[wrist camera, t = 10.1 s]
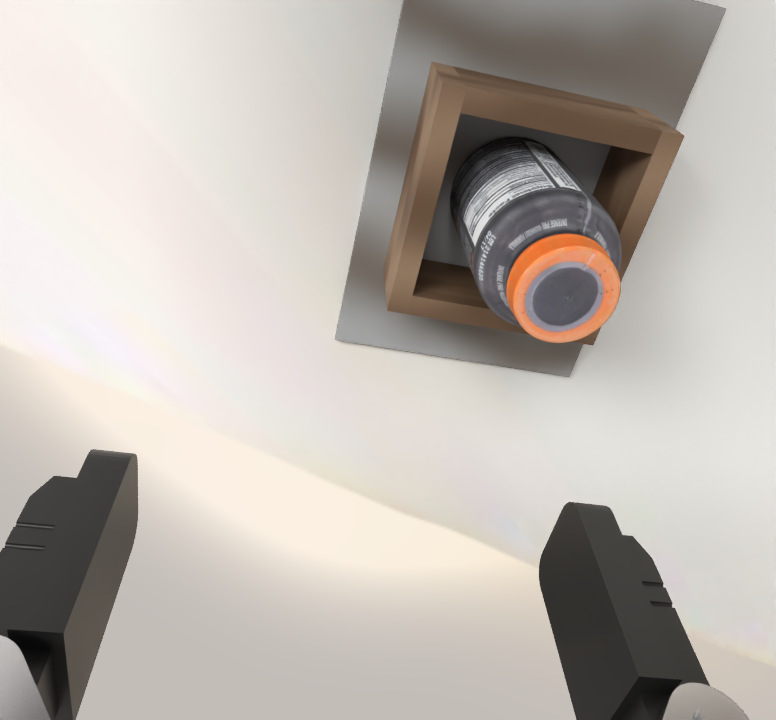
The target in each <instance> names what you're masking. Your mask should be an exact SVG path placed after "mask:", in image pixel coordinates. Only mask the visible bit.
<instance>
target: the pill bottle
mask: <svg viewBox="0 0 776 720" xmlns="http://www.w3.org/2000/svg"><path fill="white" fill-rule="evenodd" d="M450 206H451V214H452V218H453V221H454V224H455V228H456V231H457V234H458V236H459V239H460V241H461V245H462V248H463V250H464V253H465V255H466V258H467V261H468V263H469V266H470V269H471V271H472V274H473V277H474V280H475V282H476V285H477V287H478V290H479V292H480V295H481V297H482V298H483V300H484V302H485V303H486V304H487V306H488V307H489V308H490V309H491V310H492V311H493V312H494V313H495V314H496V315H497V316H499V317H500V318H502V319H503V320H505V321H507V322H509V323H511V324H513V325H516V326H519V327H522V328H523V329H524V330H525V331H526V332H527V333H529V334H530V335H532V336H533V337H535V338H537V339H539V340H542V341H546V342H552V343H566V342H571V341H575V340H578V339H581V338H584V337H586V336H588V335H589V334H591V333H593V332H594V331H596V330H597V329H599V328H600V327H601V326H602V325H603V324H604V323H605V322H606V321H607V320H608V318H609V317H610V316H611V315H612V313H613V311H614V310H615V308H616V305H617V303H618V300H619V296H620V291H621V290H620V278H619V274H618V272H619V269H620V265H621V257H622V247H621V240H620V236H619V232H618V230H617V227H616V225H615V223H614V221H613V220H612V218H611V217H610V215H609V214H608V212H607V211H606V210H605V209H604V208H603V207H602V206H601V204H600V203H599V202H598V201H597V200H596V198H595V197H594V196H593V195H592V194H591V193H590V192H589V191H588V190H587V189H586V188H585V186H584V185H583V184H582V183H581V182H580V181H579V179H577V178H576V176H575V175H574V174H573V173H572V172H571V171H570V170H569V169H568V167H567V166H566V165H565V164H564V163H563V162H562V161H561V160H560V158H559V157H558V156H557V155H556V154H555V153H554V152H553V151H552V150H551V149H550V148H548V147H547V146H545V145H544V144H542V143H540V142H538V141H536V140H533V139H530V138H526V137H506V138H501V139H497V140H494V141H492V142H489V143H487V144H486V145H484V146H482V147H480V148H479V149H478V150H476V151H474V152H473V153H472V154H471V155H470V156H469V157H468V158H467V159H466V160H465V162H464V163H463V164H462V166H461V167H460V169H459V170H458V172H457V174H456V176H455V179H454V181H453V185H452V189H451V194H450Z"/></svg>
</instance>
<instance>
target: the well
mask: <svg viewBox="0 0 776 720" xmlns="http://www.w3.org/2000/svg"><path fill="white" fill-rule="evenodd" d="M725 11H726V8H722V7H718V6H714V5H710V4H706V3H702V2H699V1H695V0H403V5H402V10H401V15H400V20H399V25H398V30H397V35H396V40H395V45H394V50H393V55H392V60H391V64H390V69H389V74H388V79H387V84H386V89H385V94H384V99H383V104H382V109H381V114H380V119H379V124H378V129H377V134H376V139H375V144H374V148H373V153H372V158H371V163H370V168H369V173H368V178H367V183H366V188H365V193H364V198H363V203H362V208H361V213H360V218H359V223H358V228H357V232H356V237H355V242H354V247H353V252H352V257H351V262H350V267H349V272H348V277H347V282H346V287H345V292H344V297H343V302H342V307H341V311H340V316H339V321H338V326H337V331H336V336H335V340H339V341H345V342H352V343H358V344H364V345H371V346H377V347H383V348H390V349H396V350H402V351H408V352H415V353H421V354H427V355H434V356H440V357H446V358H453V359H459V360H465V361H472V362H478V363H484V364H490V365H497V366H503V367H509V368H516V369H522V370H528V371H535V372H541V373H547V374H554V375H560V376H566V377H569V376H570V374H571V371H572V369H573V367H574V364H575V362H576V360H577V357H578V355H579V353H580V350H581V348H582V346H583V344H588V345H593V344H594V342H595V340H596V337H597V335H598V333H599V331H600V328H601V327H600V328H599V329H597V330H596V331H594V332H593V333H591V334H589V335H588V336H586V337H584V338H581V339H578V340H575V341H571V342H566V343H552V342H546V341H542V340H539V339H537V338H535V337H533V336H532V335H530V334H529V333H527V332H526V331H525V330H524V329H523V328H522V327H519V326H516V325H513V324H511V323H509V322H507V321H505V320H503V319H502V318H500V317H499V316H497V315H496V314H495V313H494V312H493V311H492V310H491V309H490V308H489V307H488V306H487V304H486V303H485V302H484V300H483V298H482V297H481V295H480V292H479V290H478V287H477V285H476V282H475V280H474V277H473V274H472V271H471V269H470V266H469V263H468V261H467V258H466V255H465V253H464V250H463V248H462V245H461V241H460V239H459V236H458V234H457V231H456V228H455V224H454V221H453V218H452V214H451V206H450V194H451V189H452V185H453V181H454V179H455V176H456V174H457V172H458V170H459V169H460V167H461V166H462V164H463V163H464V162H465V160H466V159H467V158H468V157H469V156H470V155H471V154H472V153H473V152H474V151H476V150H478V149H479V148H480V147H482V146H484V145H486V144H487V143H489V142H492V141H494V140H497V139H501V138H506V137H526V138H530V139H533V140H536V141H538V142H540V143H542V144H544V145H545V146H547V147H548V148H550V149H551V150H552V151H553V152H554V153H555V154H556V155H557V156H558V157H559V158H560V160H561V161H562V162H563V163H564V164H565V165H566V166H567V167H568V169H569V170H570V171H571V172H572V173H573V174H574V175H575V176H576V178H577V179H579V181H580V182H581V183H582V184H583V185H584V186H585V188H586V189H587V190H588V191H589V192H590V193H591V194H592V195H593V196H594V197H595V198H596V200H597V201H598V202H599V203H600V204H601V206H602V207H603V208H604V209H605V210H606V211H607V212H608V214H609V215H610V217H611V218H612V220H613V221H614V223H615V225H616V227H617V230H618V232H619V236H620V240H621V247H622V257H621V265H620V269H619V272H618V274H619V278H620V282H621V280H622V278H623V276H624V273H625V271H626V269H627V266H628V264H629V262H630V260H631V257H632V255H633V253H634V250H635V248H636V246H637V243H638V241H639V239H640V237H641V234H642V232H643V230H644V227H645V225H646V223H647V221H648V218H649V216H650V214H651V211H652V209H653V207H654V205H655V202H656V200H657V198H658V195H659V193H660V191H661V188H662V186H663V184H664V182H665V179H666V177H667V175H668V172H669V170H670V168H671V166H672V163H673V161H674V159H675V156H676V154H677V152H678V150H679V147H680V145H681V143H682V140H683V138H684V135H683V134H681V133H680V132H678V131H677V130H675V128H676V125H677V123H678V121H679V118H680V116H681V114H682V111H683V109H684V107H685V104H686V102H687V100H688V97H689V95H690V93H691V90H692V88H693V86H694V83H695V81H696V79H697V76H698V74H699V72H700V69H701V67H702V65H703V62H704V60H705V58H706V55H707V53H708V50H709V48H710V46H711V43H712V41H713V39H714V36H715V34H716V32H717V29H718V27H719V25H720V22H721V20H722V18H723V15H724V13H725Z"/></svg>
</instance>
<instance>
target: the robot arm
mask: <svg viewBox="0 0 776 720" xmlns="http://www.w3.org/2000/svg"><path fill="white" fill-rule="evenodd" d="M137 467H138V465H137V456H136V454H132V453H121V452H113V451H103V450H94V449H93V450H91V451H90V452H89V454H88V456H87V458H86V460H85V462H84V464H83V466H82V468H81V470H80V473H79V475H78V477H77V478H69V477H61V476H53V477H52V478H51V479H50V480H49V481H48V482H46V483H45V484H44V485H43V486H42V487H40V488H39V489H38V490H37V491H36V492H35V493H33V494H32V495H31V496H30V497H29V499H28V501H27V503H26V505H25V507H24V509H23V511H22V512H21V514H20V517H19V518H18V520H17V523H16V527H14V528H13V530H12V531H11V533H10V535H9V537H8V539H7V541H6V545H5V548H3V549H2V550H1V552H0V720H75V719H76V716H77V713H78V711H79V708H80V705H81V702H82V699H83V695H84V692H85V689H86V686H87V683H88V680H89V677H90V674H91V671H92V668H93V665H94V662H95V659H96V656H97V653H98V650H99V647H100V644H101V641H102V638H103V635H104V632H105V629H106V626H107V623H108V620H109V617H110V614H111V611H112V608H113V605H114V602H115V599H116V596H117V593H118V590H119V587H120V583H121V581H122V577H123V574H124V571H125V568H126V565H127V562H128V559H129V556H130V553H131V550H132V547H133V543H134V539H135V534H136V528H137V521H138V468H137ZM539 581H540V587H541V591H542V594H543V598H544V602H545V605H546V609H547V613H548V616H549V620H550V624H551V627H552V631H553V634H554V638H555V642H556V645H557V649H558V653H559V657H560V660H561V664H562V668H563V671H564V675H565V679H566V682H567V686H568V690H569V693H570V697H571V701H572V704H573V708H574V712H575V715H576V719H577V720H749V718H748V717H747V715H746V714H745V713H744V711H743V710H742V709H741V708H740V707H739V706H738V705H737V704H736V703H735V702H734V701H733V700H732V699H730V698H729V697H728V696H726V695H725V694H724V693H722V692H720V691H719V690H717V689H715V688H713V687H710V685H709V683H708V681H707V679H706V677H705V674H704V672H703V670H702V668H701V665H700V663H699V661H698V659H697V657H696V654H695V652H694V650H693V648H692V646H691V643H690V641H689V639H688V637H687V634H686V632H685V630H684V628H683V626H682V623H681V621H680V619H679V617H678V615H677V612H676V610H675V608H672V601H671V599H670V597H669V595H668V592H667V590H666V588H663V581H662V579H661V577H660V575H659V572H658V570H657V568H656V566H655V564H654V561H653V559H652V558H651V557H650V555H649V554H648V553H647V552H646V551H645V550H644V549H643V547H642V546H641V545H640V544H639V543H638V542H637V541H636V539H635V538H634V537H633V536H626V535H622V533H621V531H620V529H619V526H618V524H617V522H616V519H615V517H614V514H613V512H612V511H611V509H610V508H609V507H607V506H602V505H592V504H583V503H574V502H569V503H567V504H566V505H565V506H564V507H563V509H562V511H561V514H560V516H559V518H558V520H557V522H556V524H555V527H554V529H553V531H552V533H551V535H550V537H549V540H548V542H547V544H546V546H545V548H544V550H543V553H542V555H541V559H540V565H539Z"/></svg>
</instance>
